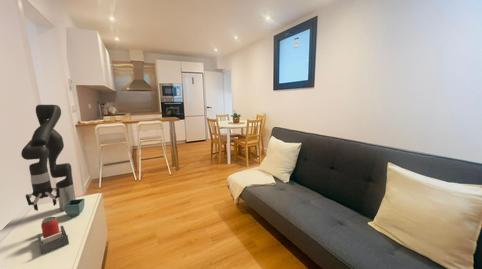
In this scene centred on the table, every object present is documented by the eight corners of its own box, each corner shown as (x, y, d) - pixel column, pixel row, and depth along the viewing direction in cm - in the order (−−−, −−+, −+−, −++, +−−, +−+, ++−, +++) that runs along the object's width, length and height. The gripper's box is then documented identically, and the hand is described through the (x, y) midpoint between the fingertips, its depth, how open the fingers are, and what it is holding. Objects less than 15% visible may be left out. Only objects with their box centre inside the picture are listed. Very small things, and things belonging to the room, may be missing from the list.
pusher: (43, 245, 106) (42, 239, 105) (62, 238, 112) (61, 231, 111) (43, 246, 106) (42, 239, 105) (62, 238, 111) (61, 232, 111)
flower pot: (86, 209, 141) (84, 198, 140) (80, 216, 133) (79, 204, 132) (71, 211, 139) (69, 200, 137) (65, 218, 131) (62, 206, 129)
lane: (38, 239, 111) (36, 231, 110) (63, 230, 119) (62, 222, 118) (40, 255, 99) (39, 246, 99) (69, 243, 108) (67, 235, 107)
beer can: (42, 244, 107) (38, 224, 105) (47, 237, 113) (43, 218, 111) (58, 240, 110) (54, 221, 108) (62, 233, 116) (58, 214, 114)
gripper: (57, 175, 120) (61, 200, 123) (22, 182, 110) (27, 210, 112) (58, 178, 115) (63, 205, 118) (22, 186, 105) (28, 215, 107)
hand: (45, 207), depth 115 cm, fingers open, 6 cm apart
